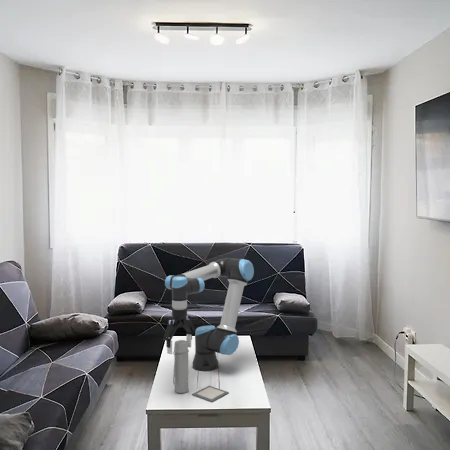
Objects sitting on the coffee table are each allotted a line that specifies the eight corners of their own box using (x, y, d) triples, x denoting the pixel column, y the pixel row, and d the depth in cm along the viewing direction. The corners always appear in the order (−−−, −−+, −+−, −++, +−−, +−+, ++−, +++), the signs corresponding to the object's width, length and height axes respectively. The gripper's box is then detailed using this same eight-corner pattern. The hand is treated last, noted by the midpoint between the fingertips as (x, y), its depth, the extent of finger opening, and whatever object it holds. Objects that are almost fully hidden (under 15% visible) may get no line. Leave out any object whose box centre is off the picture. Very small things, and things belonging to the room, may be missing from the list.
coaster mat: (209, 386, 233) (209, 385, 233) (228, 393, 225) (228, 392, 225) (191, 395, 223) (191, 393, 223) (212, 402, 214) (212, 401, 214)
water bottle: (181, 386, 233) (180, 338, 232) (192, 390, 228) (192, 341, 227) (168, 392, 226) (167, 343, 224) (179, 396, 221) (178, 346, 220)
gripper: (191, 302, 237) (191, 342, 238) (155, 311, 217) (155, 355, 218) (201, 304, 232) (201, 345, 233) (166, 314, 212) (166, 358, 213)
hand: (179, 350), depth 226 cm, fingers open, 13 cm apart
